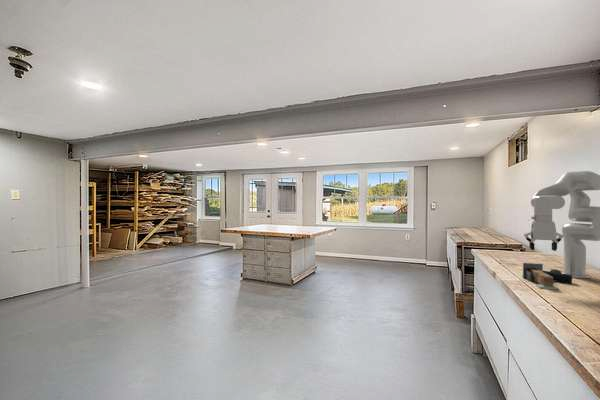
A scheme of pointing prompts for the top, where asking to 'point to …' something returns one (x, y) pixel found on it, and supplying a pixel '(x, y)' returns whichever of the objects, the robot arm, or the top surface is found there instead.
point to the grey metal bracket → (526, 270)
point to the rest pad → (547, 287)
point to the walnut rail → (542, 277)
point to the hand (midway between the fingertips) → (543, 250)
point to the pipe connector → (559, 276)
